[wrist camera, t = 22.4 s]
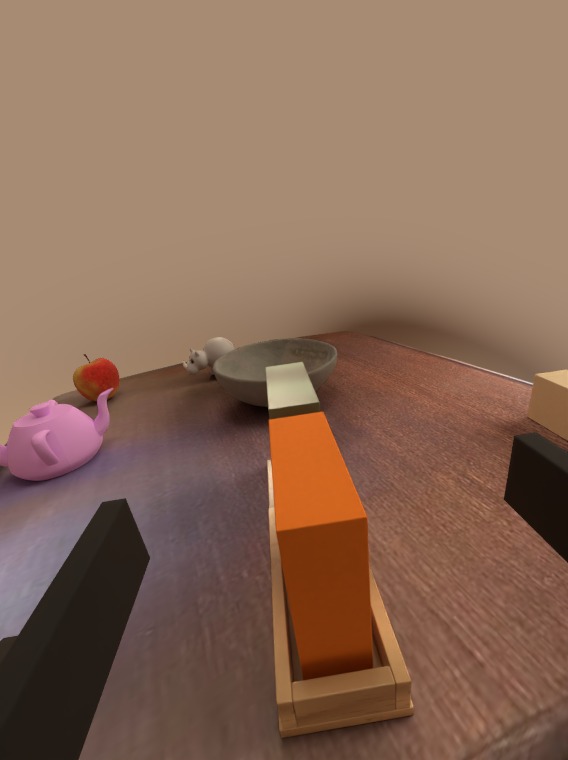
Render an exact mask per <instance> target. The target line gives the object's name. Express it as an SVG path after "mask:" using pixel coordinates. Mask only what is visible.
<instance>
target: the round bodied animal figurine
mask: <svg viewBox="0 0 568 760" xmlns="http://www.w3.org/2000/svg"><path fill="white" fill-rule="evenodd" d="M234 349H235V348H234V345H233V344H232V343H231V342H230V341H228V340H227V339H225V338H221V337H217V338H213V339H211V340H209V341H208V342H207V343H206V344H205V346H204V348H203V351H194V350H193V349H190V351H191V355H190V357H189V359H190V360H189V362H187V364H186V363H185V362H184V361H183V366H184V368H185V369H186V372H187V373H188V374H189V375H196V374H197V373H198V372H199V371H200V370H202V369H205V368H206V367H207V366H209V367H210V373H211V374H212V375H214V372H213V365H214V363H215V361H216V360H217V359H218V358H219V357H221V356H223V355H225V354H226V353H228V352H230V351H232V350H234Z"/></svg>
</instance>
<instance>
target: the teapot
mask: <svg viewBox="0 0 568 760" xmlns="http://www.w3.org/2000/svg"><path fill="white" fill-rule="evenodd" d="M112 390H113V388H111V389H108V390H106V391H104V392H103V393H101V394H100V395H99V397H98V399H97V405H98V415H97V417H96V418H95V419H94V420H93V419H91V418H90V417H89V416H88V415H86V414H85V413H83V412H82V411H80V410H78V409H77V408H75V407H73V406H71V405H68V404H57V402H56V401H55V400H48V401H47V402H46V403H40V404H37V405H35V406H33V407H31V408H30V409H29V411H30V413H28V414H26V415H24V416H23V417H21V418H19V419H18V420H17V421H15V423H14V424H13V426H12V429H11V432H10V435H9V439H8V443H7V446H2V445H0V466H5V467H9V469H10V471H11V473H12V474H13V475H15V476H16V477H19V478H22V479H26V480H32V481H42V480H48V479H52V478H55V477H58V476H61V475H64V474H66V473H69V472H71V471H73V470H75V469H77V468H79V467H81V466H82V465H84V464H85V463H87V462H88V461H89V460H91V459H92V458H93V457H94V456H95V455H96V453H97V452H98V450H99V448H100V446H101V444H102V441H103V434H104V433H105V431H106V430H107V428H108V426H109V422H110V418H109V412H108V408H107V398H108V395H109V394H110V392H111V391H112Z"/></svg>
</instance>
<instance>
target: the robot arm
mask: <svg viewBox="0 0 568 760" xmlns="http://www.w3.org/2000/svg"><path fill="white" fill-rule="evenodd" d="M504 500H505V501H506V502H507V503H508V504H509V505H510V506H511V507H512V508H513V509H514V510H515V511H516V512H517V513H518V514H519V515H520V516H521V517H522V518H523V519H524V520H525V521H526V522H527V523H528V524H529V525H530V526H531V527H532V528H533V529H534V530H535V531H536V532H537V533H538V534H539V535H540V536H541V537H542V538H543V539H544V540H545V541H546V542H547V543H548V544H549V545H550V546H551V547H552V548H553V549H554V550H555V551H556V552H557V553H558V554H559V555H560V556H561V557H562V558H563V559H564V560H566V561H567V562H568V452H566V451H565V450H563V449H562V448H560V447H558V446H557V445H555V444H554V443H552V442H551V441H549V440H547V439H546V438H544V437H543V436H541V435H540V434H538V433H530V434H523V435H517V436H514V441H513V447H512V453H511V459H510V465H509V472H508V478H507V484H506V490H505V496H504ZM149 560H150V556H149V554H148V552H147V549H146V547H145V544H144V542H143V539H142V537H141V535H140V532H139V530H138V527H137V525H136V522H135V520H134V518H133V515H132V513H131V510H130V508H129V505H128V503H127V501H126V498H125V499H119V500H113V501H107V502H102V503H101V505H100V507H99V508H98V510H97V511H96V513H95V515H94V516H93V518H92V519H91V521H90V523H89V524H88V526H87V527H86V529H85V530H84V532H83V534H82V535H81V537H80V538H79V540H78V542H77V543H76V545H75V546H74V548H73V550H72V551H71V553H70V554H69V556H68V557H67V559H66V561H65V562H64V564H63V565H62V567H61V569H60V570H59V572H58V573H57V575H56V577H55V578H54V580H53V581H52V583H51V584H50V586H49V588H48V589H47V591H46V592H45V594H44V596H43V597H42V599H41V600H40V602H39V604H38V605H37V607H36V608H35V610H34V611H33V613H32V615H31V616H30V618H29V619H28V621H27V623H26V624H25V626H24V627H23V629H22V631H21V632H20V634H19V635H18V636H14V637H8V638H3V639H2V640H1V641H0V760H78V759H79V756H80V754H81V751H82V748H83V745H84V742H85V740H86V737H87V734H88V731H89V728H90V726H91V723H92V720H93V717H94V714H95V711H96V709H97V706H98V703H99V700H100V697H101V695H102V692H103V689H104V686H105V683H106V681H107V678H108V675H109V672H110V669H111V666H112V664H113V661H114V658H115V655H116V652H117V650H118V647H119V644H120V641H121V638H122V636H123V633H124V630H125V627H126V624H127V622H128V619H129V616H130V613H131V610H132V607H133V605H134V602H135V599H136V596H137V593H138V591H139V588H140V585H141V582H142V579H143V577H144V574H145V571H146V568H147V565H148V562H149Z"/></svg>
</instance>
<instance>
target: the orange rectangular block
mask: <svg viewBox="0 0 568 760" xmlns="http://www.w3.org/2000/svg"><path fill="white" fill-rule="evenodd" d="M269 434H270V450H271V465H272V480H273V496H274V511H275V526H276V535H277V541H278V546H279V551H280V557H281V562H282V568H283V573H284V578H285V584H286V589H287V595H288V600H289V606H290V611H291V616H292V622H293V627H294V633H295V638H296V643H297V649H298V654H299V660H300V665H301V670H302V676H303V680H309V679H315V678H320V677H326V676H332V675H338V674H344V673H350V672H355V671H361V670H367V669H373V651H372V625H371V600H370V574H369V549H368V524H367V515H366V513H365V510H364V508H363V506H362V503H361V501H360V498H359V496H358V494H357V491H356V489H355V487H354V484H353V482H352V479H351V477H350V475H349V472H348V470H347V467H346V465H345V463H344V460H343V458H342V456H341V453H340V451H339V448H338V446H337V444H336V441H335V439H334V436H333V434H332V432H331V429H330V427H329V424H328V422H327V420H326V417H325V415H324V413H323V412H317V413H310V414H303V415H297V416H290V417H284V418H277V419H270V420H269Z"/></svg>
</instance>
